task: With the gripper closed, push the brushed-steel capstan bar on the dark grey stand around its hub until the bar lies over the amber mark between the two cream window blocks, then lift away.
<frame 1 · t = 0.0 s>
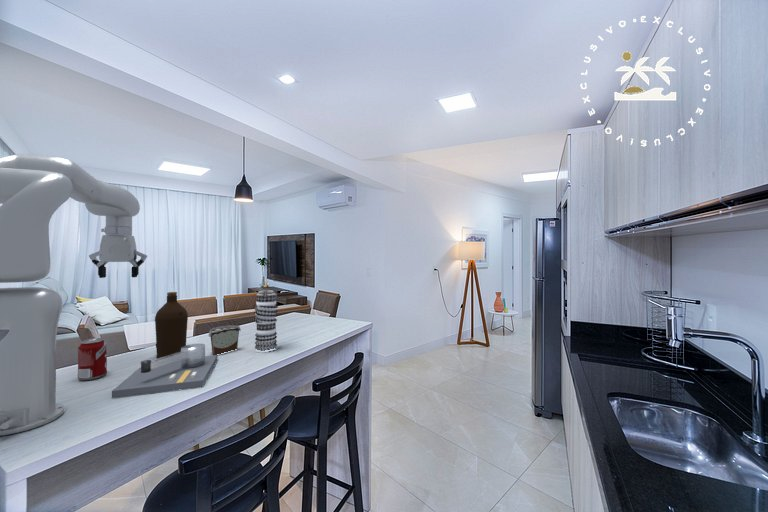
hand: (118, 277, 114), 31 cm above the breakfast bar, tool pointing down, fingers open, 9 cm apart
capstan: (174, 361, 98), point 5 cm above the breakfast bar, hinge at -40.0°
decorative candle: (266, 350, 128), on the breakfast bar
soda can: (92, 378, 98), on the breakfast bar
olive oil: (171, 356, 120), on the breakfast bar
food container: (222, 352, 125), on the breakfast bar
levelling stand: (193, 370, 104), on the breakfast bar
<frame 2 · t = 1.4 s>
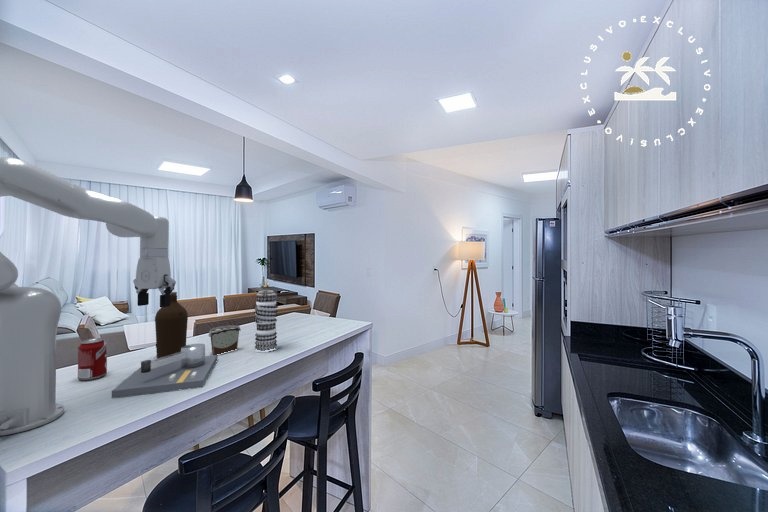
hand: (153, 306, 100), 23 cm above the breakfast bar, tool pointing down, fingers open, 9 cm apart
nothing on the breakfast bar moved.
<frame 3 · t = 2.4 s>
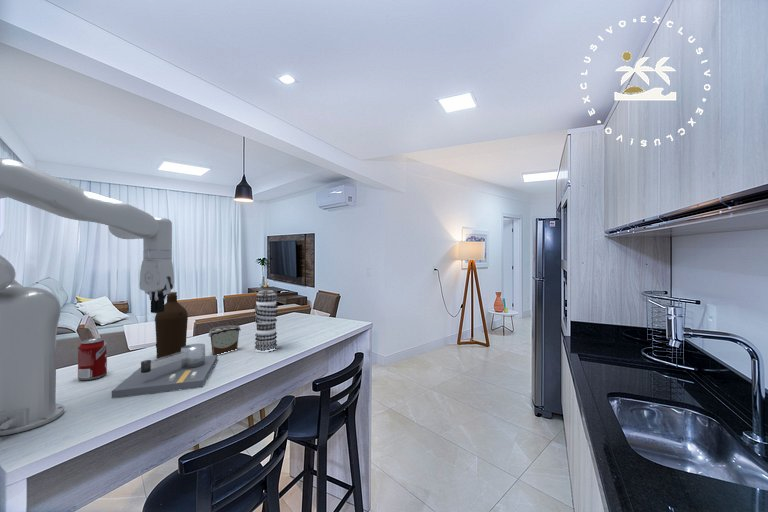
hand: (157, 312, 99), 21 cm above the breakfast bar, tool pointing down, fingers closed
nothing on the breakfast bar moved.
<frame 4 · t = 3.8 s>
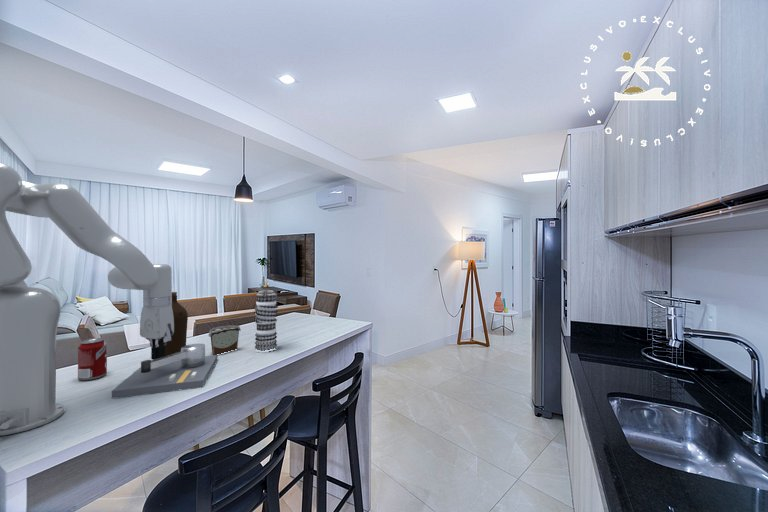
hand: (158, 358, 99), 6 cm above the breakfast bar, tool pointing down, fingers closed
nothing on the breakfast bar moved.
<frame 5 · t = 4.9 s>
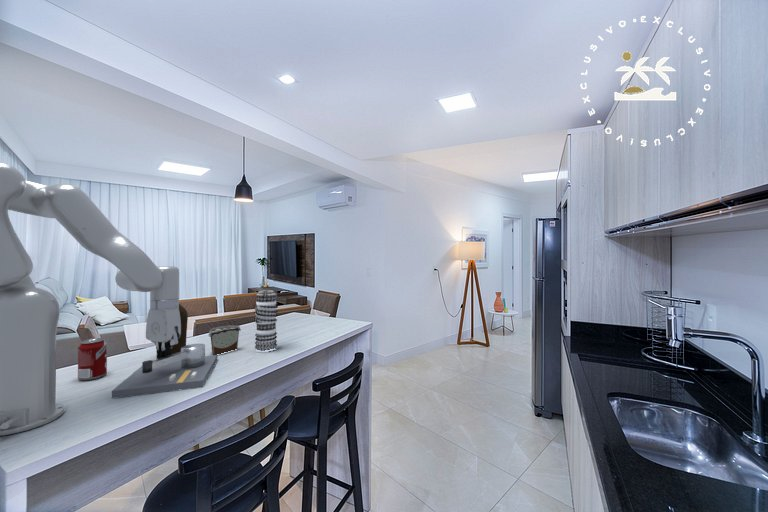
hand: (164, 361, 97), 5 cm above the breakfast bar, tool pointing down, fingers closed
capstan: (175, 361, 98), point 5 cm above the breakfast bar, hinge at -37.6°, touching gripper
everything else where it was.
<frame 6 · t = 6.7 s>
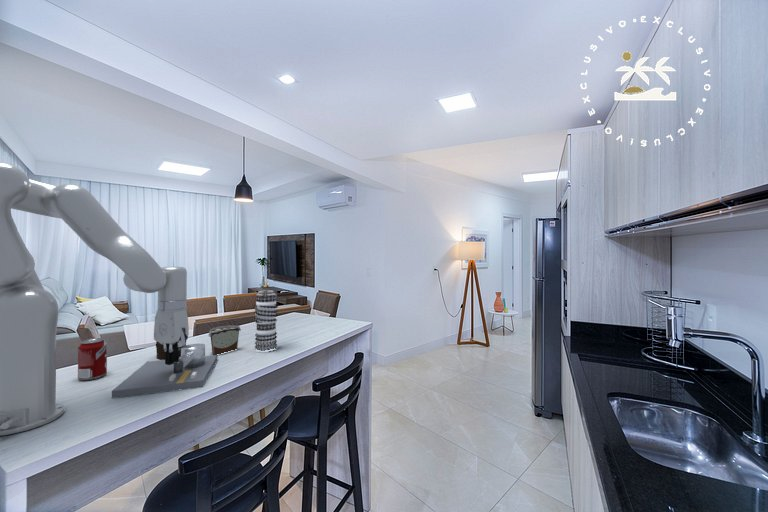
hand: (171, 363, 96), 5 cm above the breakfast bar, tool pointing down, fingers closed
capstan: (187, 361, 98), point 5 cm above the breakfast bar, hinge at -2.1°
everything else where it was.
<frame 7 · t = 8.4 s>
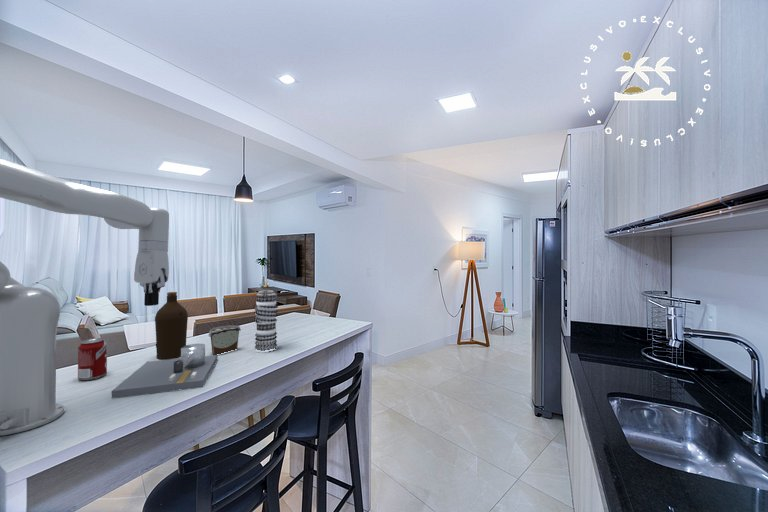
hand: (151, 305, 96), 24 cm above the breakfast bar, tool pointing down, fingers closed
nothing on the breakfast bar moved.
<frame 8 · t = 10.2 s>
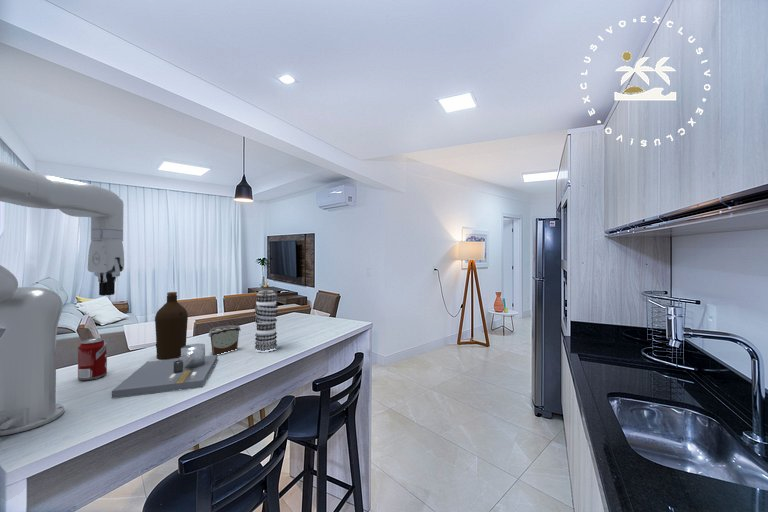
hand: (106, 294, 94), 27 cm above the breakfast bar, tool pointing down, fingers closed
nothing on the breakfast bar moved.
at the end: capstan at -2° (first picture: -40°); soda can moved 0.2 cm from its start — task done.
